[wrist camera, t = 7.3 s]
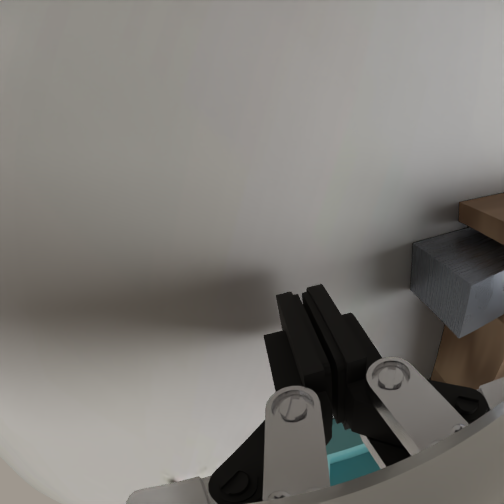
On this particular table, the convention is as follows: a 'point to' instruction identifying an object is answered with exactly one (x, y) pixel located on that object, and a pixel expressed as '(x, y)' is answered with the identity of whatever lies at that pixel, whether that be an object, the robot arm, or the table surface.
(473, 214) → the socket block
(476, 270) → the bar
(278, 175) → the table surface
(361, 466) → the tray
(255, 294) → the table surface
